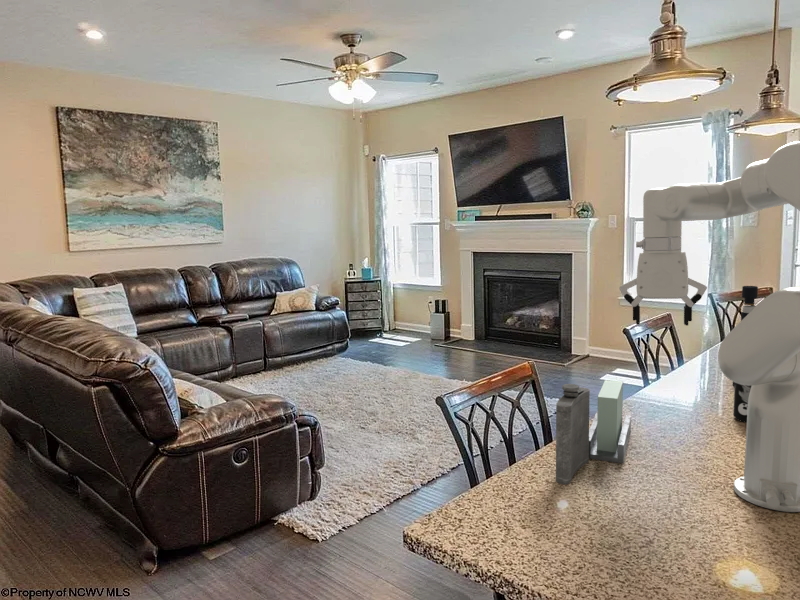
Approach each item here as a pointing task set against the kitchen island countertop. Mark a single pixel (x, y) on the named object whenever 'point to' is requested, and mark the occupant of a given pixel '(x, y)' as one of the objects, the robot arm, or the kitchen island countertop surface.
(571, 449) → the flask
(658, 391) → the kitchen island countertop surface
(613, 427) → the door panel
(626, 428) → the strip
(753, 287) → the wine bottle
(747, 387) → the beverage can
